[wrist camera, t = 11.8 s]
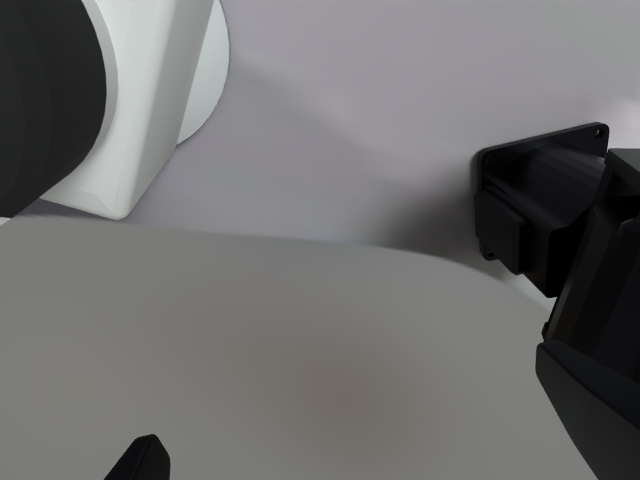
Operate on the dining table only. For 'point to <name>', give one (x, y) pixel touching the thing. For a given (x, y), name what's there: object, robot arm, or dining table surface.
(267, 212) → the dining table surface
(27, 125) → the medicine bottle
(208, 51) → the white round dome
